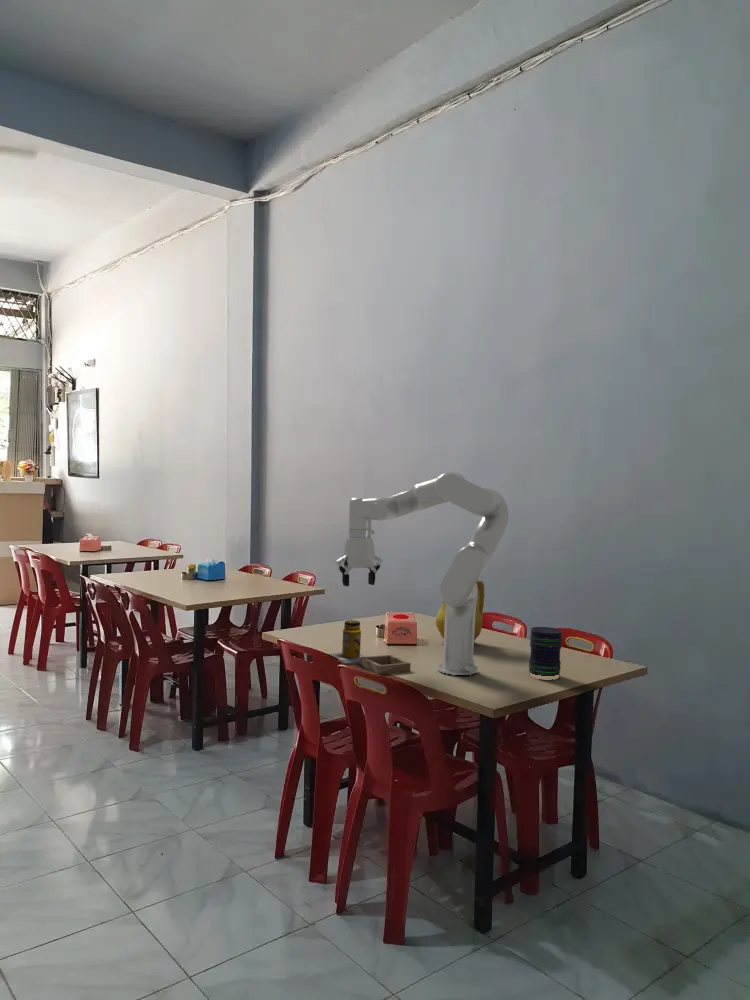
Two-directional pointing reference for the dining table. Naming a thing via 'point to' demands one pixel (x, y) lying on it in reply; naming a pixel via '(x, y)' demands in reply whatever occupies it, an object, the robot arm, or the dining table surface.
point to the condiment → (351, 641)
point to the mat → (349, 661)
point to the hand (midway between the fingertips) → (358, 585)
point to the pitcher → (478, 613)
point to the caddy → (393, 667)
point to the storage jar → (545, 651)
